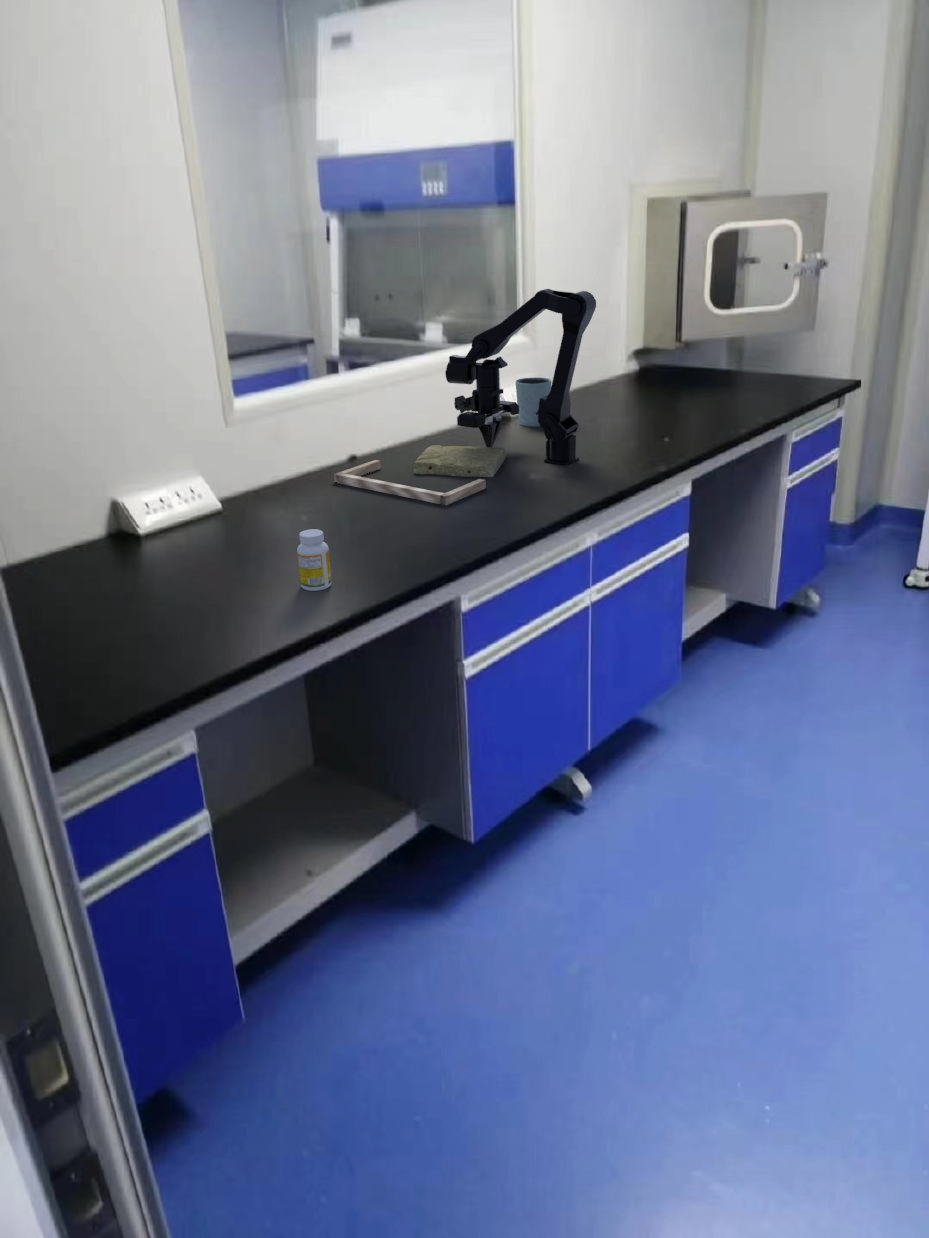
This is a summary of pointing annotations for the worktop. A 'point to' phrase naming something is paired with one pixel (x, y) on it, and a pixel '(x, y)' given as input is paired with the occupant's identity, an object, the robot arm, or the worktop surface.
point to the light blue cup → (530, 398)
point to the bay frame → (447, 498)
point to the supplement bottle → (314, 561)
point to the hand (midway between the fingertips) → (489, 448)
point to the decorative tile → (460, 461)
